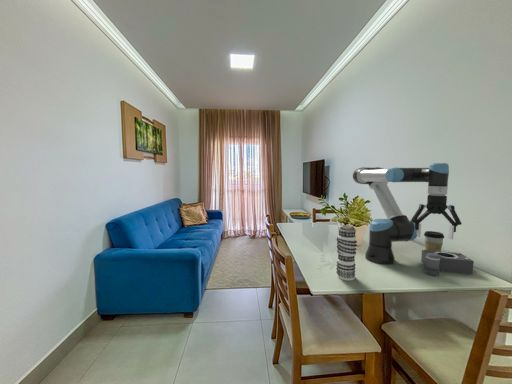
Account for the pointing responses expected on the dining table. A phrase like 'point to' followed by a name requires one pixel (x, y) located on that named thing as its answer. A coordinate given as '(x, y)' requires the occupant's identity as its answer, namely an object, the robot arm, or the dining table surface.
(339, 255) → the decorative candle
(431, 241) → the coffee cup
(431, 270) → the lens
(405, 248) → the dining table surface
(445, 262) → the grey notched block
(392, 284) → the dining table surface
